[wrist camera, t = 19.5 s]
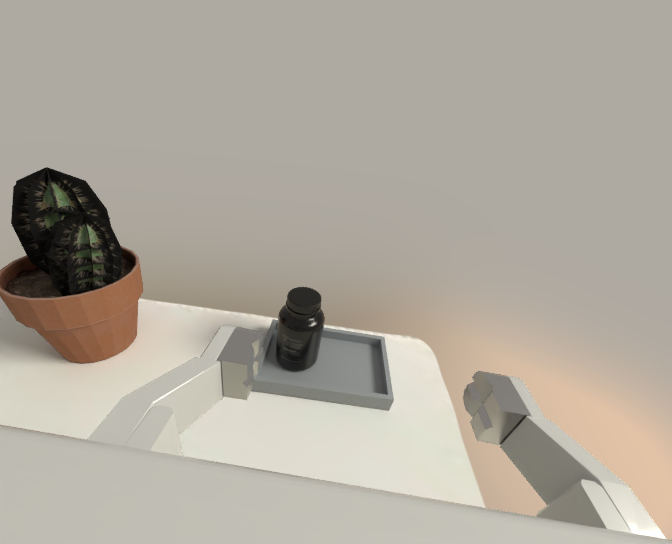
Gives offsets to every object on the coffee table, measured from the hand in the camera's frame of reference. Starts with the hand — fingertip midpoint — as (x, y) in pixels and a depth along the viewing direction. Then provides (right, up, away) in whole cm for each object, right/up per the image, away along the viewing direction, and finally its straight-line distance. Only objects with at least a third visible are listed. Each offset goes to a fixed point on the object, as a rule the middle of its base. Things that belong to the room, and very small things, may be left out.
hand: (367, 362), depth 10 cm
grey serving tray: (-3, -12, +34) cm, 36 cm away
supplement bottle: (-8, -10, +34) cm, 36 cm away
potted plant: (-37, -7, +31) cm, 49 cm away
